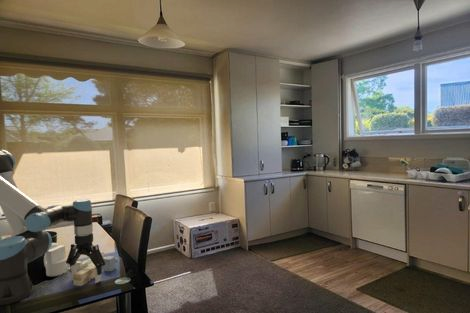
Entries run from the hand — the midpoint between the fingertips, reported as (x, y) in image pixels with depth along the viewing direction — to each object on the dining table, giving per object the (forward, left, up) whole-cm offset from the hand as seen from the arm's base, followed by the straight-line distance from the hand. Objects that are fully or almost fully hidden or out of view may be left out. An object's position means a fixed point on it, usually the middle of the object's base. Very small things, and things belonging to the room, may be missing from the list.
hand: (86, 280), depth 136 cm
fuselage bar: (0, 0, 0) cm, 0 cm away
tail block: (+13, -2, 0) cm, 13 cm away
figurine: (+10, +32, 0) cm, 34 cm away
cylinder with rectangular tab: (+4, +22, 0) cm, 23 cm away
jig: (+16, +11, 0) cm, 19 cm away
